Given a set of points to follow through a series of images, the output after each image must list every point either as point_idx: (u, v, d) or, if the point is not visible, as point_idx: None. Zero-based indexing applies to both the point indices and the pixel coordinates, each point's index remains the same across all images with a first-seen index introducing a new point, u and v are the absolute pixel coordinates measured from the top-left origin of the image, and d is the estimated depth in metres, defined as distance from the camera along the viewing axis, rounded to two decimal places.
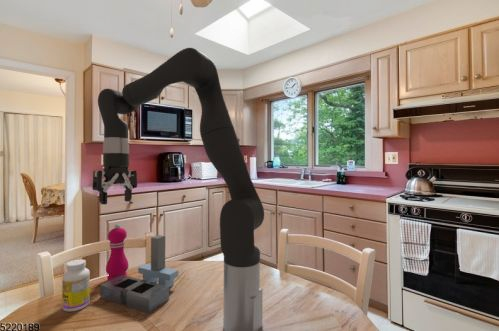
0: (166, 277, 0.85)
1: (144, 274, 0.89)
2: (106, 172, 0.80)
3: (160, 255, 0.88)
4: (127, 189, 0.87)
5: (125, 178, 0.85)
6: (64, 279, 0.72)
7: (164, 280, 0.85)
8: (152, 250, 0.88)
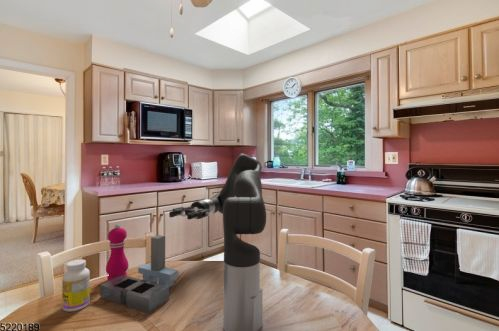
0: (166, 277, 0.85)
1: (144, 274, 0.89)
2: None
3: (160, 255, 0.88)
4: None
5: (195, 208, 1.05)
6: (64, 279, 0.72)
7: (164, 280, 0.85)
8: (152, 250, 0.88)
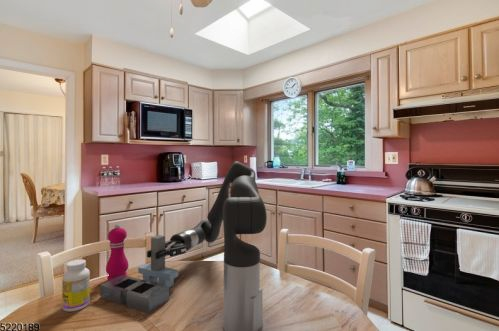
0: (166, 277, 0.85)
1: (144, 274, 0.89)
2: None
3: None
4: None
5: (172, 243, 0.93)
6: (64, 279, 0.72)
7: (164, 280, 0.85)
8: (152, 250, 0.87)
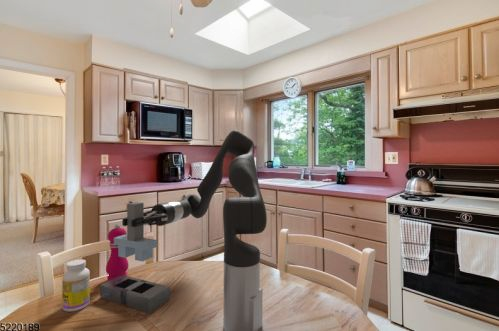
0: (143, 247, 0.76)
1: (120, 245, 0.80)
2: None
3: None
4: None
5: (152, 212, 0.84)
6: (64, 279, 0.72)
7: (141, 251, 0.76)
8: (128, 218, 0.78)
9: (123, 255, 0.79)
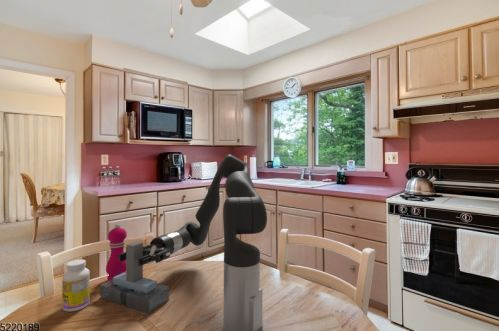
0: (142, 289, 0.76)
1: (119, 285, 0.80)
2: None
3: (136, 265, 0.78)
4: None
5: (153, 247, 0.84)
6: (64, 279, 0.72)
7: None
8: (127, 258, 0.78)
9: None
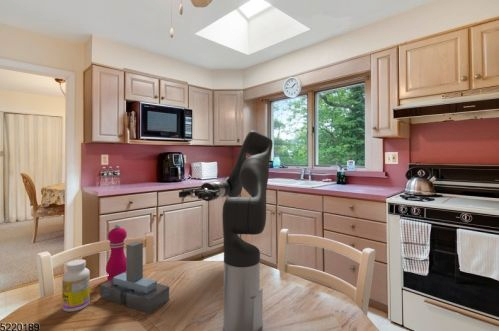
0: (142, 289, 0.76)
1: (119, 285, 0.80)
2: None
3: (136, 265, 0.78)
4: None
5: (205, 188, 1.01)
6: (64, 279, 0.72)
7: None
8: (127, 258, 0.78)
9: None
